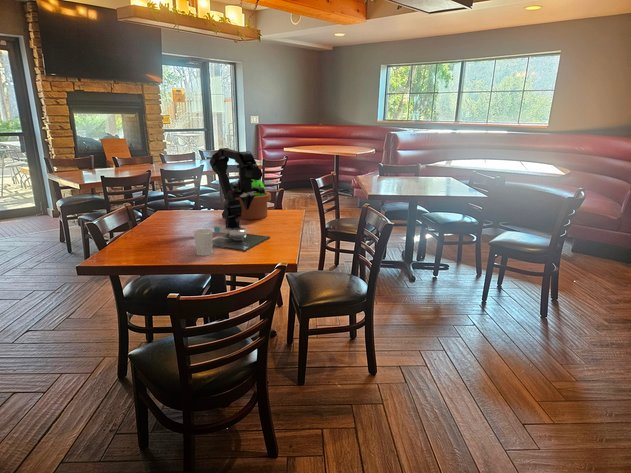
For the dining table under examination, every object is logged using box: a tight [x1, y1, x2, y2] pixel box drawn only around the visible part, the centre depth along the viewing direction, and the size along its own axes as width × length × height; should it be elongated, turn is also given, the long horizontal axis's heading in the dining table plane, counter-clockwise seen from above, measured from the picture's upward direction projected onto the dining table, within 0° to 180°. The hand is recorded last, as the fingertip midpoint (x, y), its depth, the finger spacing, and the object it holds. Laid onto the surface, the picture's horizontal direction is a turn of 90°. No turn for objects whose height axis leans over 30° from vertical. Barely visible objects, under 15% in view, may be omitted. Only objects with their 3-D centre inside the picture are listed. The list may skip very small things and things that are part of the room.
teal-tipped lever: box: [213, 225, 248, 239], centre depth 196 cm, size 17×8×3 cm, turn 65°
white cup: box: [193, 228, 214, 257], centre depth 178 cm, size 8×8×10 cm
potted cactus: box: [236, 178, 272, 221], centre depth 239 cm, size 22×22×25 cm
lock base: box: [212, 233, 271, 252], centre depth 195 cm, size 24×22×2 cm
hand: (247, 209), depth 203 cm, fingers closed
